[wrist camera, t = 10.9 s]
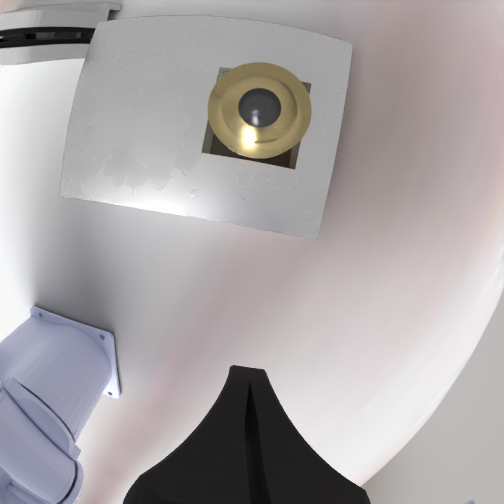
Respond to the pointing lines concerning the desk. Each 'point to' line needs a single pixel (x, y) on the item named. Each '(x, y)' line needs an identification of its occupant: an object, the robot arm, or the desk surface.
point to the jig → (199, 121)
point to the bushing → (259, 110)
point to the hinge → (50, 31)
